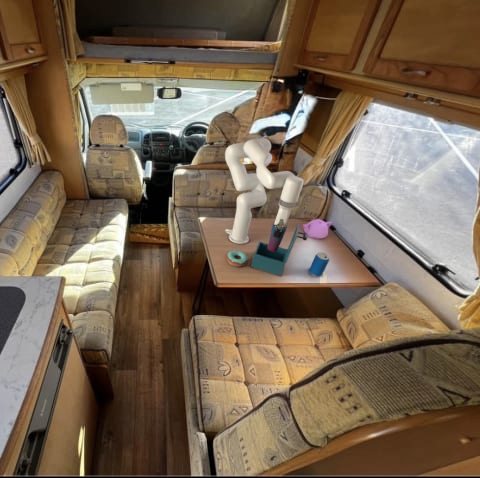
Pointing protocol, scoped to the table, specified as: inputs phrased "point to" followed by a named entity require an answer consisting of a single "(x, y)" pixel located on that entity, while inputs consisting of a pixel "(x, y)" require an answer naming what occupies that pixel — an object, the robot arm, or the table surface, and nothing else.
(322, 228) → the teapot
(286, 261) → the cool box lid
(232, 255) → the donut
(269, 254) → the cool box
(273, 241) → the cup
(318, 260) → the beverage can
